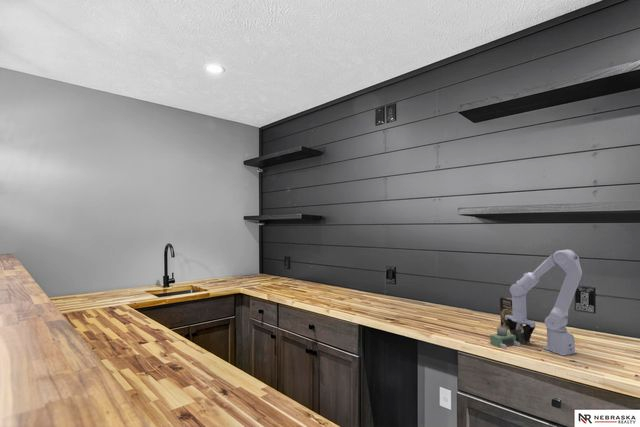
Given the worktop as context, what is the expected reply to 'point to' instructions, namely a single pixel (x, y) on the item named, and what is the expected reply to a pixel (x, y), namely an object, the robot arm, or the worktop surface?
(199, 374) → the worktop surface
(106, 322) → the worktop surface
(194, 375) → the worktop surface
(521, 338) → the chute
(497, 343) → the green base with knob
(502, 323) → the coffee box
